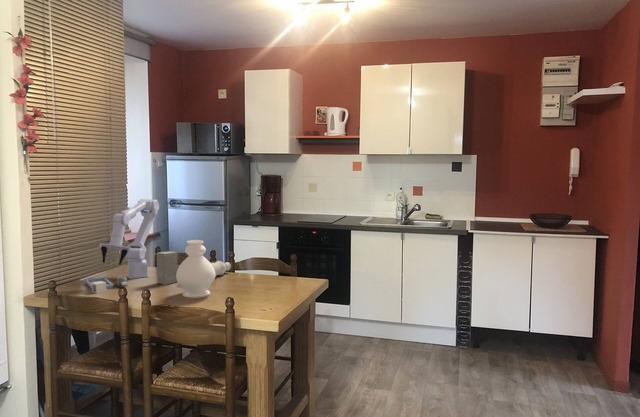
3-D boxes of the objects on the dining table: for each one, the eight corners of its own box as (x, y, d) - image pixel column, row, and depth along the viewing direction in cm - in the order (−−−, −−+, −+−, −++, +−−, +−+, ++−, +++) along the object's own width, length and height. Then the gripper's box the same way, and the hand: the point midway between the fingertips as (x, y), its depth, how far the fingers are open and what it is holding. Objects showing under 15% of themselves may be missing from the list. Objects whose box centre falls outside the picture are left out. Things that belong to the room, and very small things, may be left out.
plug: (114, 283, 260) (114, 275, 260) (123, 282, 262) (122, 274, 262) (120, 288, 250) (120, 280, 250) (129, 287, 252) (129, 279, 252)
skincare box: (164, 285, 256) (164, 254, 255) (156, 283, 261) (155, 252, 259) (178, 282, 263) (178, 251, 262) (170, 280, 267) (169, 250, 266)
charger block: (101, 290, 247) (101, 280, 247) (106, 291, 245) (105, 282, 244) (92, 292, 244) (91, 282, 243) (96, 293, 241) (96, 284, 241)
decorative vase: (197, 301, 228) (196, 245, 226) (168, 295, 237) (166, 242, 235) (223, 292, 244) (222, 240, 241) (195, 287, 253) (194, 237, 250)
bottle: (199, 279, 256) (236, 269, 282) (191, 263, 258) (229, 255, 284) (188, 287, 260) (225, 277, 286) (180, 271, 261) (218, 262, 288)
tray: (85, 283, 260) (85, 279, 260) (105, 280, 265) (104, 277, 265) (92, 290, 246) (92, 286, 246) (113, 287, 251) (113, 284, 251)
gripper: (100, 233, 253) (94, 260, 249) (131, 237, 256) (126, 264, 253) (102, 235, 260) (97, 262, 256) (132, 240, 263) (127, 266, 259)
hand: (111, 263), depth 255 cm, fingers open, 7 cm apart
